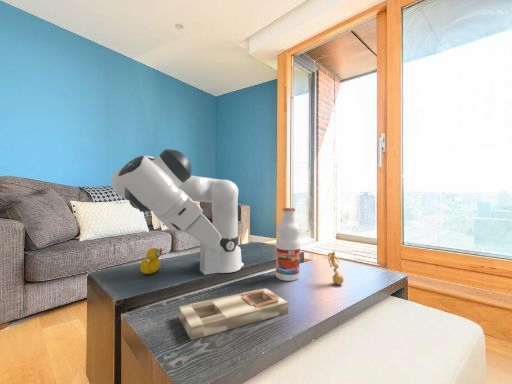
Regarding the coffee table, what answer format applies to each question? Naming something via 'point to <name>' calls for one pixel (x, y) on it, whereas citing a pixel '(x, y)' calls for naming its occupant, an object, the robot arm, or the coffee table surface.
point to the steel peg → (209, 260)
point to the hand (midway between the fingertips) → (215, 248)
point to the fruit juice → (288, 247)
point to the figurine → (336, 277)
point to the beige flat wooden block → (230, 312)
